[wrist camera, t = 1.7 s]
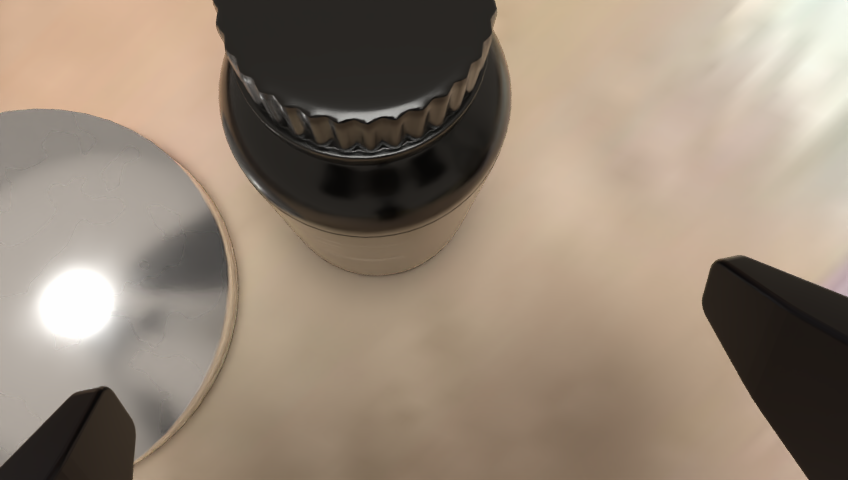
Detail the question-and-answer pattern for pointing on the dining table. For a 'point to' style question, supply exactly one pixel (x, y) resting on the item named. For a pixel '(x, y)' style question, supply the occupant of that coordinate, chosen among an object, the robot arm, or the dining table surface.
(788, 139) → the dining table surface
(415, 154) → the supplement bottle
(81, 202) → the metal plate
